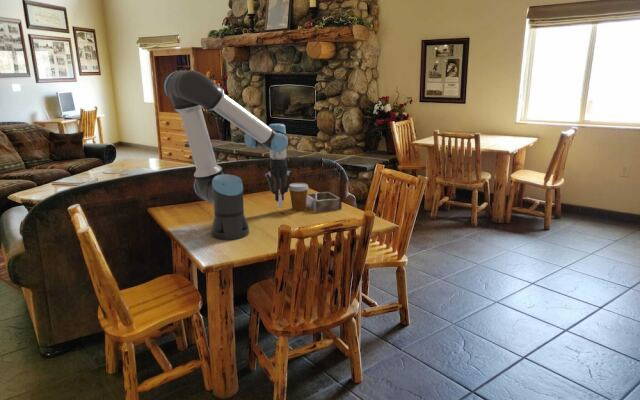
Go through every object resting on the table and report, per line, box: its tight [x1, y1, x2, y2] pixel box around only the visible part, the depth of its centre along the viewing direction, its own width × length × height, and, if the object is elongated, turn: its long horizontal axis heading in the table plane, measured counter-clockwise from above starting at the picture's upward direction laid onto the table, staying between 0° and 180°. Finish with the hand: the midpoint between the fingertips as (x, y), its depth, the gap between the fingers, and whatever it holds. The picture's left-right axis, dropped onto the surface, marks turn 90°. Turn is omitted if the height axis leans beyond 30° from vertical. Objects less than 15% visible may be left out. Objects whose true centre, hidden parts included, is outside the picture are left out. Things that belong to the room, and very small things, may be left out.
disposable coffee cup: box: [288, 182, 309, 212], centre depth 215 cm, size 10×10×12 cm
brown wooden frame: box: [307, 191, 343, 213], centre depth 220 cm, size 12×16×5 cm
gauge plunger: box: [306, 191, 318, 212], centre depth 218 cm, size 6×11×9 cm, turn 22°
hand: (279, 207), depth 213 cm, fingers closed
